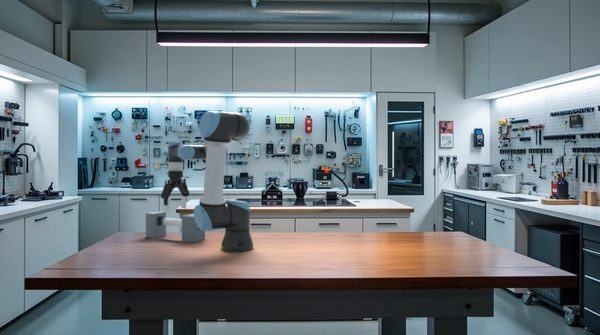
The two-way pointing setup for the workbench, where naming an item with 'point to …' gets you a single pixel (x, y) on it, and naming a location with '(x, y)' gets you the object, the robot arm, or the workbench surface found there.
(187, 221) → the sleeve
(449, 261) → the workbench surface
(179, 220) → the tube
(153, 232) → the socket block
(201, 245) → the workbench surface
